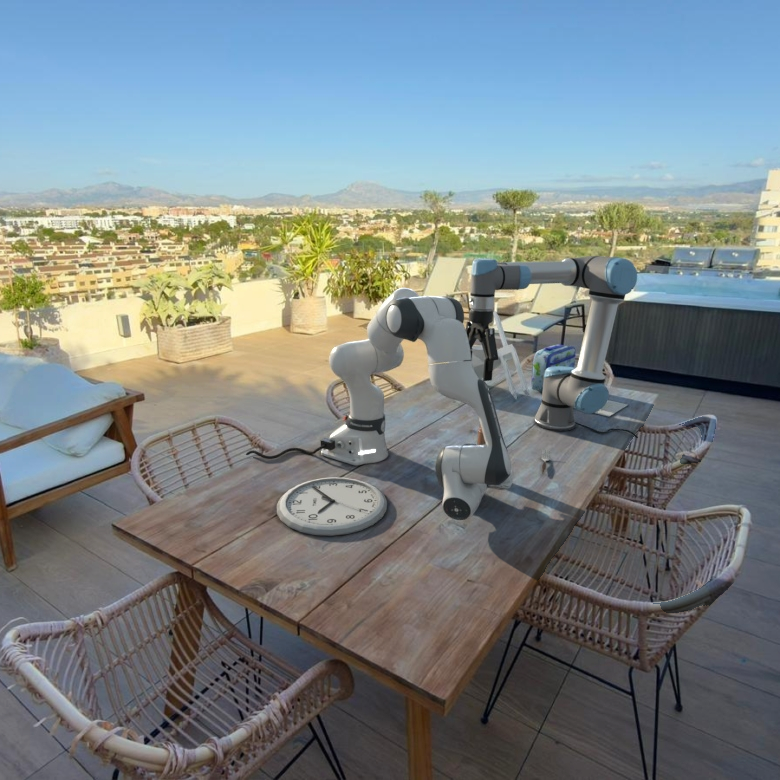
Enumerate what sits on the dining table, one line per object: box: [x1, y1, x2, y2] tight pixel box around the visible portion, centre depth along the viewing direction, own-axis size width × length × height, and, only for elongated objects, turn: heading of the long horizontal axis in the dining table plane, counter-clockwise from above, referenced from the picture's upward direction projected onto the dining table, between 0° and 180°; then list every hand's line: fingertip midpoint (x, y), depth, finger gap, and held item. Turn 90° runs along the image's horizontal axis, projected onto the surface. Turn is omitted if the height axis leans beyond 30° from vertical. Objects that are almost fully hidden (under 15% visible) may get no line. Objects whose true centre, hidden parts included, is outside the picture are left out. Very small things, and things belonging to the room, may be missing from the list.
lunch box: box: [530, 344, 577, 392], centre depth 247 cm, size 26×11×21 cm, turn 134°
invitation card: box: [594, 399, 629, 418], centre depth 226 cm, size 21×1×15 cm
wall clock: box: [276, 476, 388, 537], centre depth 142 cm, size 30×2×30 cm
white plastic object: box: [448, 310, 531, 400], centre depth 245 cm, size 37×45×31 cm
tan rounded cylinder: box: [476, 423, 485, 445], centre depth 159 cm, size 5×5×17 cm
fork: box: [541, 449, 551, 474], centre depth 169 cm, size 3×16×2 cm, turn 160°
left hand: (481, 462), depth 154 cm, fingers open, 8 cm apart
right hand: (476, 374), depth 170 cm, fingers open, 13 cm apart
